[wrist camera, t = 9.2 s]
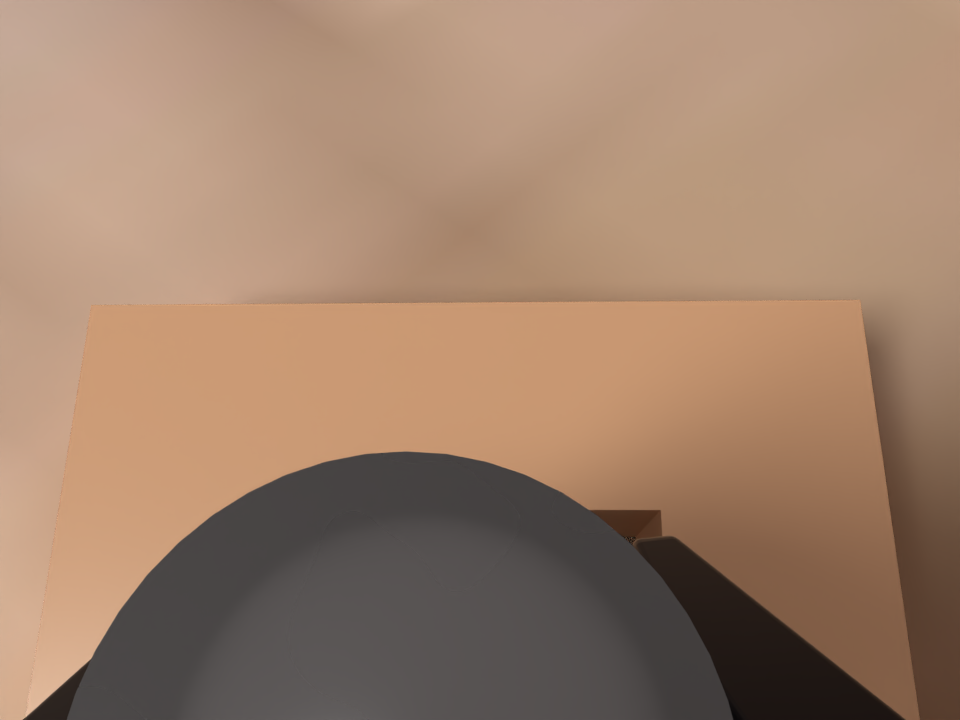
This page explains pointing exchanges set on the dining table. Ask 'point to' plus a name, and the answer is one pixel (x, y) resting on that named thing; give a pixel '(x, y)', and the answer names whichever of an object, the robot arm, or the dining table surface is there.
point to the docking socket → (499, 441)
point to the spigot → (402, 608)
